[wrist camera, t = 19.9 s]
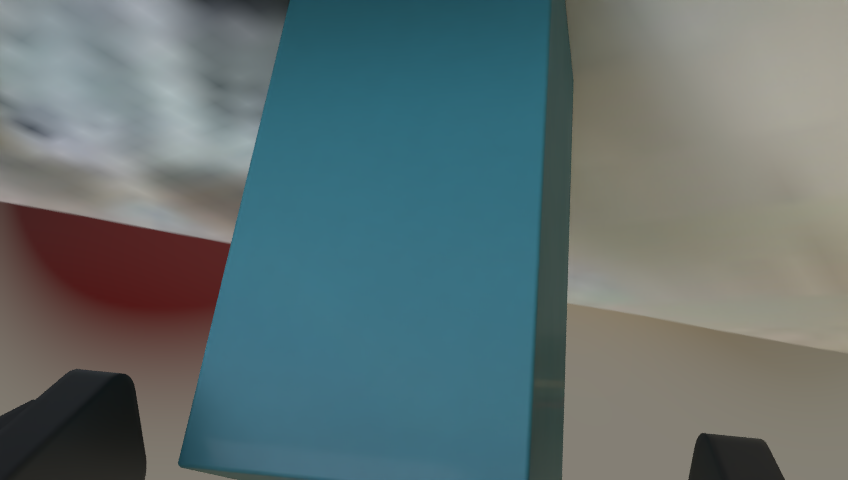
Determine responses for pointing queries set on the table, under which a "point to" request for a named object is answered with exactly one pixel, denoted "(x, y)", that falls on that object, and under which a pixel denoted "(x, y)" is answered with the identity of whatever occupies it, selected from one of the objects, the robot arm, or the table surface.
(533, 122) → the block
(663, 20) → the table surface
